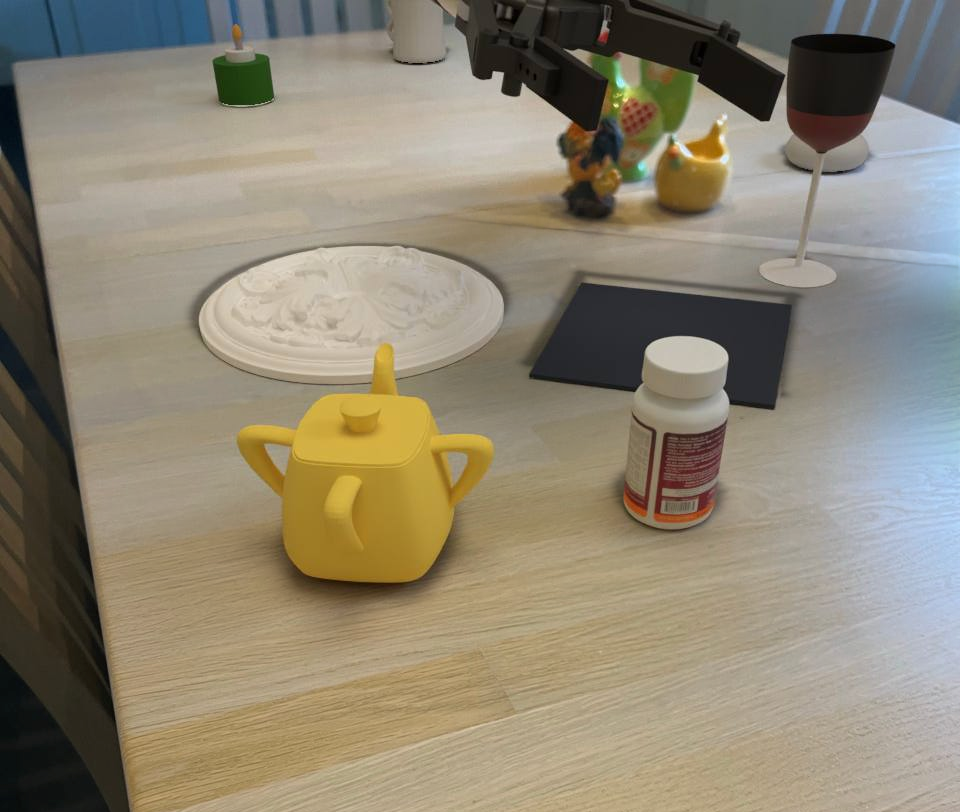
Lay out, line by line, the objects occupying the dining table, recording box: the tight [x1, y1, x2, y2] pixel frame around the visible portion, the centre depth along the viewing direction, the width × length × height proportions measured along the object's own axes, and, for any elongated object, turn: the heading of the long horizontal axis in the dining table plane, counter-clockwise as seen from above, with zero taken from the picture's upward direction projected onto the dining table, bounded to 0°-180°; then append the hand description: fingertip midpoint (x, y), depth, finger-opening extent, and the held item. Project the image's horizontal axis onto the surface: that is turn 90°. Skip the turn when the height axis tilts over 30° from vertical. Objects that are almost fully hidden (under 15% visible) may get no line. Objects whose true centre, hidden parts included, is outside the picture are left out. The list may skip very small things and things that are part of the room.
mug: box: [385, 0, 447, 64], centre depth 170 cm, size 12×9×10 cm
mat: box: [528, 281, 793, 410], centre depth 89 cm, size 20×20×1 cm
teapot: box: [236, 343, 495, 583], centre depth 64 cm, size 14×13×10 cm
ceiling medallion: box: [198, 245, 505, 385], centre depth 93 cm, size 28×28×3 cm
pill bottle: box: [623, 336, 730, 530], centre depth 66 cm, size 6×6×11 cm
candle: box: [212, 23, 275, 105], centre depth 150 cm, size 8×8×10 cm
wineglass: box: [758, 33, 897, 288], centre depth 94 cm, size 8×9×20 cm
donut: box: [784, 133, 870, 173], centre depth 126 cm, size 10×4×10 cm
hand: (690, 102), depth 59 cm, fingers open, 13 cm apart
